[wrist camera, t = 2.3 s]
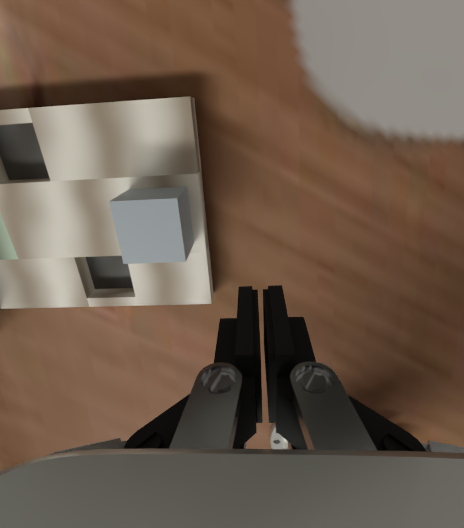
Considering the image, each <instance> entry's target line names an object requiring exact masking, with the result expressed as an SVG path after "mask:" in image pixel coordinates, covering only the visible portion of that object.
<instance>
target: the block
mask: <svg viewBox="0 0 464 528" xmlns="http://www.w3.org/2000/svg"><path fill="white" fill-rule="evenodd" d="M109 204H110V208H111V213H112V217H113V221H114V225H115V230H116V234H117V238H118V242H119V247H120V251H121V255H122V259H123V264H138V263H168V262H186V261H187V258H188V256H189V254H190V251H191V249H192V247H193V244H194V238H193V229H192V221H191V213H190V205H189V196H188V188H187V187H169V188H149V189H129V190H127V191H125V192H124V193H122V194H120V195H119V196H117V197H115V198H114V199H112V200H111V201H109Z"/></svg>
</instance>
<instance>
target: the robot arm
mask: <svg viewBox="0 0 464 528" xmlns="http://www.w3.org/2000/svg"><path fill="white" fill-rule="evenodd" d="M263 311H264V352H265V367H266V382H267V397H268V412H269V423H274V424H273V425H272V428H271V432H270V440H271V447H272V449H246V442H247V441H248V440H249V439H250V438H251V437H252V436H253V435H254V434H255V433H256V423H262V388H261V352H260V331H259V311H258V291H257V290H252V286H245V287H239V293H238V310H237V318H225V319H220V323H219V330H218V337H217V344H216V351H215V359H214V363H213V364H210V365H208V366H206V367H204V368H203V369H202V370H201V371H200V372H199V374H198V375H197V377H196V380H195V383H194V385H193V388H192V390H191V393H190V394H189V395H188V396H186V397H185V398H183V399H182V400H180V401H179V402H178V403H176V404H175V405H173V406H172V407H171V408H169V409H168V410H166V411H165V412H163V413H162V414H161V415H159V416H158V417H156V418H155V419H154V420H152V421H151V422H149V423H148V424H146V425H145V426H144V427H142V428H141V429H139V430H138V431H137V432H135V433H134V434H133V435H132V436H131V437H130V438H129V440H127V441H122V442H121V439H120V438H118V439H113V440H108V441H104V442H99V443H95V444H90V445H86V446H81V447H76V448H72V449H67V450H63V451H58V452H54V453H52V454H49V455H47V456H43V457H39V458H35V459H32V460H29V461H26V462H24V463H21V464H18V465H15V466H12V467H10V468H8V469H6V470H3V471H1V472H0V528H464V448H462V447H458V446H453V445H448V444H444V443H439V442H434V441H429V440H428V443H427V444H423V443H420V442H419V441H418V439H416V438H415V437H414V436H412V435H411V434H410V433H408V432H407V431H405V430H403V429H402V428H400V427H399V426H397V425H395V424H394V423H392V422H391V421H389V420H387V419H386V418H384V417H383V416H381V415H379V414H378V413H376V412H375V411H373V410H371V409H370V408H368V407H366V406H365V405H363V404H362V403H360V402H358V401H357V400H355V399H354V398H352V397H350V396H349V395H347V393H346V391H345V389H344V387H343V386H342V384H341V382H340V380H339V378H338V376H337V375H336V373H335V372H334V371H333V370H332V369H331V368H329V367H328V366H326V365H324V364H322V363H318V362H316V360H315V357H314V353H313V349H312V345H311V342H310V338H309V334H308V331H307V327H306V323H305V320H304V318H303V317H288V315H287V309H286V304H285V299H284V294H283V289H282V285H281V286H268V289H263Z"/></svg>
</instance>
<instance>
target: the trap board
mask: <svg viewBox="0 0 464 528" xmlns="http://www.w3.org/2000/svg"><path fill="white" fill-rule="evenodd" d="M169 187H187V188H188V196H189V205H190V213H191V221H192V229H193V238H194V244H193V247H192V249H191V251H190V254H189V256H188V258H187V261H186V262H168V263H138V264H123V259H122V255H121V251H120V247H119V242H118V238H117V234H116V230H115V225H114V221H113V217H112V213H111V208H110V204H109V201H111V200H112V199H114V198H115V197H117V196H119V195H120V194H122V193H124V192H125V191H127V190H129V189H149V188H169ZM213 294H214V291H213V281H212V271H211V261H210V251H209V241H208V231H207V221H206V211H205V201H204V191H203V180H202V170H201V160H200V150H199V140H198V130H197V120H196V110H195V100H194V98H193V97H190V96H189V97H175V98H161V99H147V100H133V101H119V102H105V103H91V104H77V105H63V106H49V107H35V108H22V109H8V110H0V309H9V308H52V307H95V306H137V305H180V304H212V299H213Z"/></svg>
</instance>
